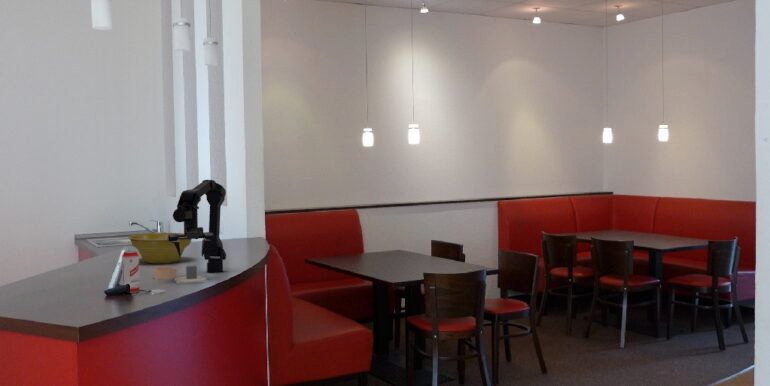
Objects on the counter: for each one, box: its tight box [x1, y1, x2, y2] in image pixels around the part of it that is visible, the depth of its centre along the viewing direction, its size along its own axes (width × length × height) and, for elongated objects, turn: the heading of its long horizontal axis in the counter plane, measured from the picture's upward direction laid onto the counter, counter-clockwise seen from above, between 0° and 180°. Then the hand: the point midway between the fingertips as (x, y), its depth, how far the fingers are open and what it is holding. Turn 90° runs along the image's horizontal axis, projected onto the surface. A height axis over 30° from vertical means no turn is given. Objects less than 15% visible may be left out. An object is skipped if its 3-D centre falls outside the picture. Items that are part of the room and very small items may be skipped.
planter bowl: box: [127, 232, 193, 264], centre depth 369 cm, size 32×32×13 cm
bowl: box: [153, 266, 177, 280], centre depth 316 cm, size 9×9×4 cm
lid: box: [176, 265, 207, 283], centre depth 309 cm, size 12×12×6 cm
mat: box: [174, 277, 210, 284], centre depth 309 cm, size 13×13×1 cm
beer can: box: [121, 250, 140, 294], centre depth 283 cm, size 6×6×16 cm
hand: (191, 256), depth 309 cm, fingers open, 9 cm apart
